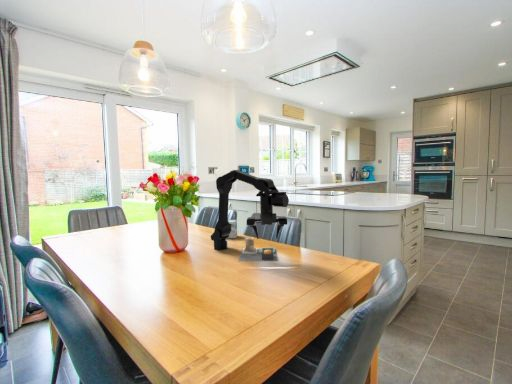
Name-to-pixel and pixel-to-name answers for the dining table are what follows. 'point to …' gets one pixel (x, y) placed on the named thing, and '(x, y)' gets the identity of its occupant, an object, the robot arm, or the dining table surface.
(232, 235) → the light bulb box
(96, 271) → the dining table surface
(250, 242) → the block
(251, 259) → the grey shape sorting board
